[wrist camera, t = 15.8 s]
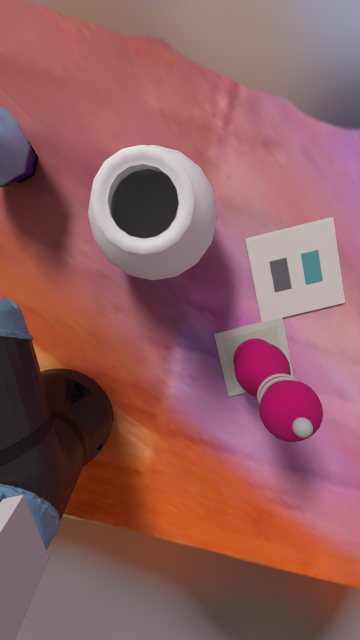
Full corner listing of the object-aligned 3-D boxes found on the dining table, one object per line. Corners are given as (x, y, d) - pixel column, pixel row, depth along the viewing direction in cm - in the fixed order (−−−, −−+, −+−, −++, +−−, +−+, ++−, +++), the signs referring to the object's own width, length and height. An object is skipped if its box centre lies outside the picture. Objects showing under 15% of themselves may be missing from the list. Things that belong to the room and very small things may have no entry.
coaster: (228, 395, 50) (228, 396, 50) (213, 333, 48) (214, 334, 48) (293, 380, 50) (294, 381, 50) (281, 317, 48) (282, 317, 48)
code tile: (261, 322, 48) (261, 322, 48) (244, 238, 46) (245, 238, 45) (344, 302, 48) (345, 302, 47) (332, 216, 45) (333, 216, 45)
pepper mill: (288, 364, 49) (361, 442, 30) (246, 390, 50) (291, 482, 30) (262, 325, 48) (322, 379, 28) (220, 352, 49) (249, 423, 29)
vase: (127, 145, 43) (87, 59, 23) (228, 192, 44) (269, 150, 25) (88, 249, 46) (23, 250, 26) (184, 291, 47) (190, 322, 27)
